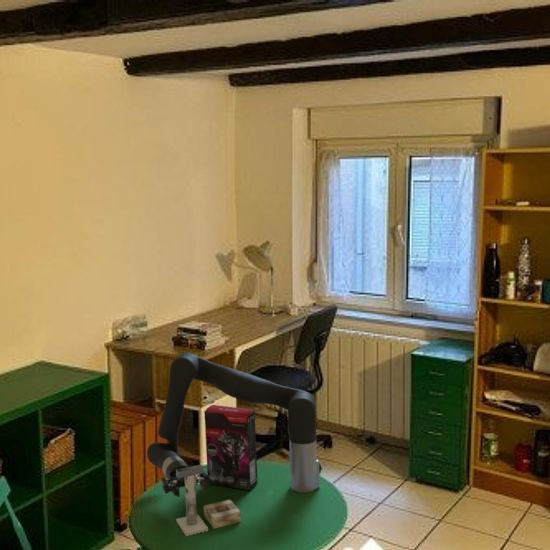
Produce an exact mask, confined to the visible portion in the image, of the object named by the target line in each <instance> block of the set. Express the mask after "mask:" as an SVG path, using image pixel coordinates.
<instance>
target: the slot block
mask: <svg viewBox="0 0 550 550" xmlns="http://www.w3.org/2000/svg"><path fill="white" fill-rule="evenodd" d="M203 517H204V518H205V519H206V520H207V522H208V523H209V524H210V525H211V527H212V528H213V529H217V528H221V527H225V526H230V525H234V524H238V522H239V523H241V522H242V519H241V518H242V517H241V511H240V509H239V508H238V506H236V504H234V502H233V501H232V500H231V499H227V500H226V499H225V500H223V501H218V502H213V503H209V504H205V505H203Z"/></svg>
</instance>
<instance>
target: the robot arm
mask: <svg viewBox="0 0 550 550" xmlns="http://www.w3.org/2000/svg"><path fill="white" fill-rule="evenodd" d="M169 368H170V369H169V377H168V378H169V380H168V390H167V396H166V400H165V403H164V407H163V411H162V414H161V416H160V417H161V418H160V421H159V426H158V430H157V434H158V436H159V437H160V438H162V439H164V440H167V441H168V442H160V441H159V442H158V441H157V442H152V443H150V444H149V446H148V447H147V450H146V456H147V460H148V461H149V462H150V464H152V465H153V466H155V467H156V468H159V469H161V470H162V473H163V474H164V476H165V477H166V478H164V477H162V478H161V479H160V480H161V488H162V490H163V491H164V493H165V494H170V493H172V494H173V495H174V496H176V498H179V497H180V496H181V495H180V494H181V493H180V492H181V491H180V488H183V487H184V488H185V477H182V478H178V477H177V476H176V469H181V468H186V467H189V466H188V464H187V463H186V462H185V461H184V460H183V458H181V457H180V456H179V446H178V445H179V441H178V440H179V432H180V428H181V424H182V420H183V415H184V409H185V408H184V407H185V401H186V397H187V394H188V391H189V389H190V386H191V384H192V382H193V380H195V381H196V380H197V381H200V382H204V383H206V384H210V385H211V386H213V387H215V388H216V389H218V390H219V391H221V392H222V393H224V394H225V395H227V396H230V397H232V398H234V399H236V400H240V401H242V402H246V403H249V404H262V405H263V404H264V405H267V404H268V405H272V406H273V405H274V406H277V407H280V408H282V409H285V410H287V424H288V435H289V469H290V470H289V472H290V473H289V475H290V476H289V477H290V478H289V479H290V480H289V484H290V489H291V490H292V491H294V492H296V493H303V494H304V493H310V492H314V491H316V490H317V489H319V488H320V461H319V460H318V456H317V454H318V453H317V452H318V451H317V425H316V423H317V421H316V417H317V416H316V413H317V412H316V409H317V407H316V406H317V401H316V399H315V397H314V395H313V394H311V393H310V392H308V391H306V390H302V389H299V388H293V387H290V386H289V387H288V386H284V385H281V384H277V383H275V382H272V381H270V380H267V379H265V378H261V377H258V376H256V375H253V374H250V373H248V372H247V373H246V372H245V371H240V370H237V369H235V368H231V367H228V366H224V365H220V364H217V363H214V362H212V361H209V360H208V359H205V358H203V357H200V356H198V355H197V354H195V353H192V352H182V353H179V354H178V355H177V356H176V357H175V358H174V359H173V360H172V362H171V364H170V367H169ZM195 485H196V487H200V488H201V489H202V491H204V492H206V491H207V490H208V485H210V484H209V476H208V475H207V473H206V472H205V471H204V470H203V473H201V474H196V475H195ZM318 487H319V488H318Z"/></svg>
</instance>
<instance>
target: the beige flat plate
mask: <svg viewBox="0 0 550 550" xmlns="http://www.w3.org/2000/svg"><path fill="white" fill-rule="evenodd" d="M175 521H176V523H177V525H178V526H179V528H180V529H181V531H182V532H183V534H184V535H185V537H189V535H190V536H193V534H194V535H197V533H198V534H200V532H202V533H205V532H204V531H206V532H208V531H209V527H208V526H207V524H206V523H205V522H204V520H203V519H202V518H201V516H200V515H199V514H198V513H197V524H196V525H193V526H189V525H187V520H186V516H184V517H183V516H182V517H177V518H176V519H175Z"/></svg>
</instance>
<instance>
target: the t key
mask: <svg viewBox="0 0 550 550" xmlns="http://www.w3.org/2000/svg"><path fill="white" fill-rule="evenodd" d="M203 471H204V467H203V465H202V464H198V465H197V464H196V465H192V466H188V467H186V468H181V469H176V476H177V477H178V478H182V477H185V486H184V491H185V492H184V494H185V495H184V497H185V514H186V515H185V517H186V520H187V525H189V526H193V525H196V524H197V514H198V513H197V512H198V511H197V494H196V492H197V491H196V490H197V489H196V488H197V486H196V485H195V475H196V474H201V473H203Z"/></svg>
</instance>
